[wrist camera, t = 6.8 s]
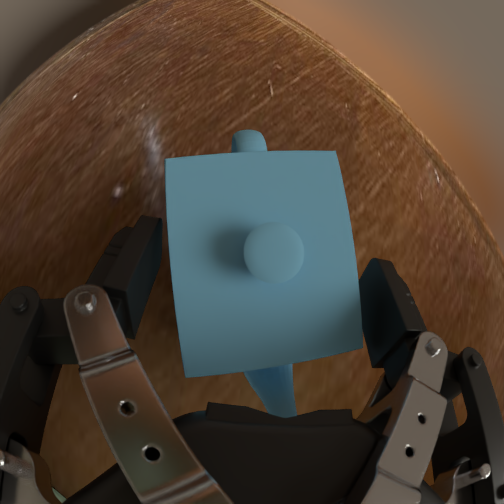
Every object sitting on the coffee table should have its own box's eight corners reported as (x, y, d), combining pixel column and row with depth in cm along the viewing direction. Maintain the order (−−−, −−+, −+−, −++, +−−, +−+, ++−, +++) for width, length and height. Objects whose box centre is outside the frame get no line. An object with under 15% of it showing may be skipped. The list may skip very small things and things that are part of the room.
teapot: (312, 381, 15) (378, 439, 8) (204, 398, 14) (202, 479, 7) (287, 173, 16) (338, 100, 9) (180, 180, 15) (159, 103, 8)
